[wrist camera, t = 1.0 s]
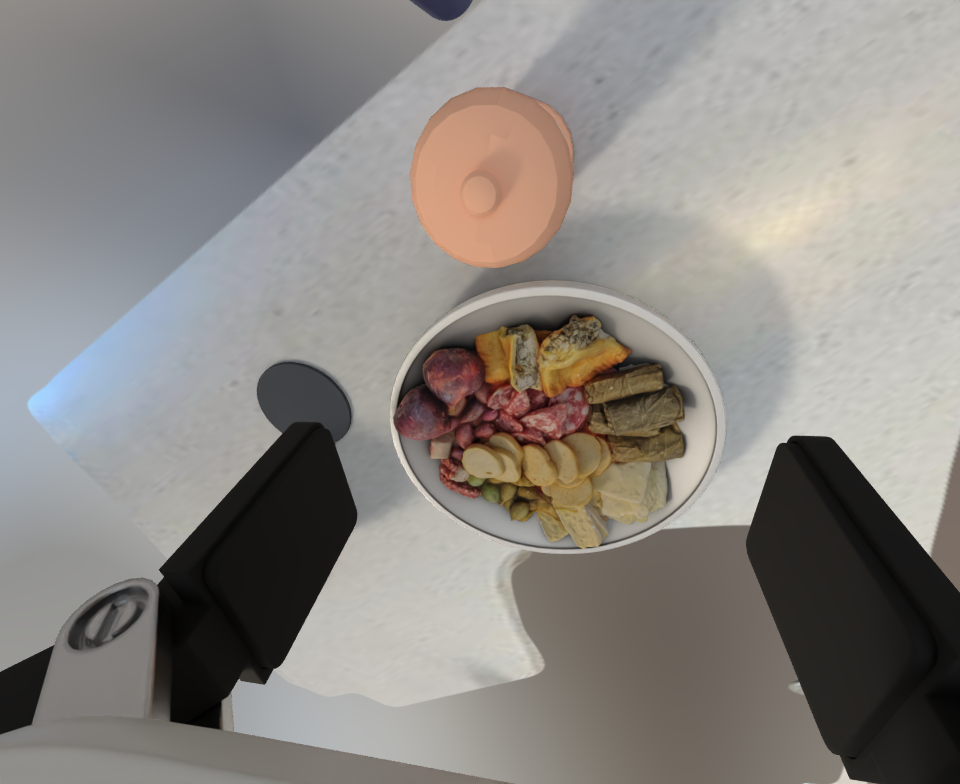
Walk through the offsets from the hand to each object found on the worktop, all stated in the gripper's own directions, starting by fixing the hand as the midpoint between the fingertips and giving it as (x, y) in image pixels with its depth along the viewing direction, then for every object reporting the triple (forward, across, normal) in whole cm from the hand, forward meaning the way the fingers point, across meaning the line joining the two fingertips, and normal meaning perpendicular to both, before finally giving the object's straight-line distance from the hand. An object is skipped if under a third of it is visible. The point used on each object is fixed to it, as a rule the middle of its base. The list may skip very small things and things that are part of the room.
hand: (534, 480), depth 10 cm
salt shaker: (+30, +3, -4) cm, 30 cm away
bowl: (+30, +1, +19) cm, 35 cm away
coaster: (+30, +28, +18) cm, 45 cm away
